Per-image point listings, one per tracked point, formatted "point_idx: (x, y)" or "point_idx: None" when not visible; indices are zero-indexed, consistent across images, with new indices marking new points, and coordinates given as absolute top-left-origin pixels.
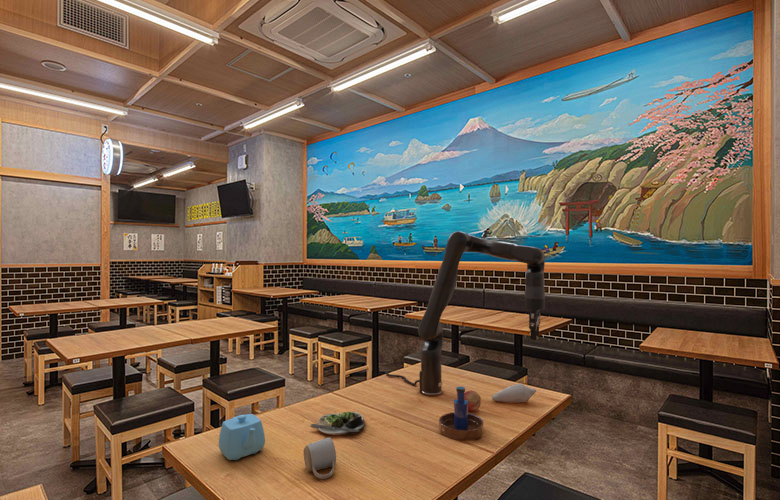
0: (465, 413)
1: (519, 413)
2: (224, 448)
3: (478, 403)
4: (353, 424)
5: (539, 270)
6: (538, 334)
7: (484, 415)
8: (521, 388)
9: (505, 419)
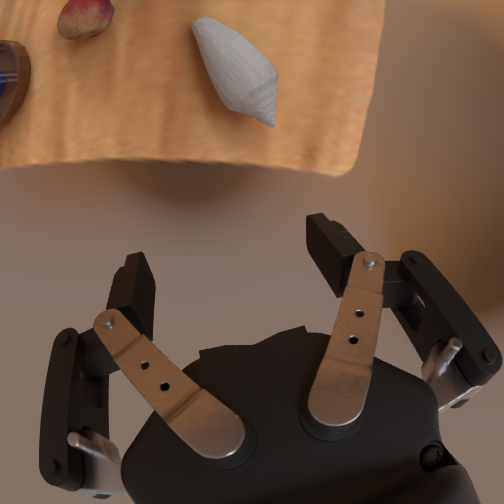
0: None
1: (156, 111)
2: None
3: (89, 33)
4: None
5: None
6: (310, 254)
7: (91, 55)
8: (233, 93)
9: (99, 104)
